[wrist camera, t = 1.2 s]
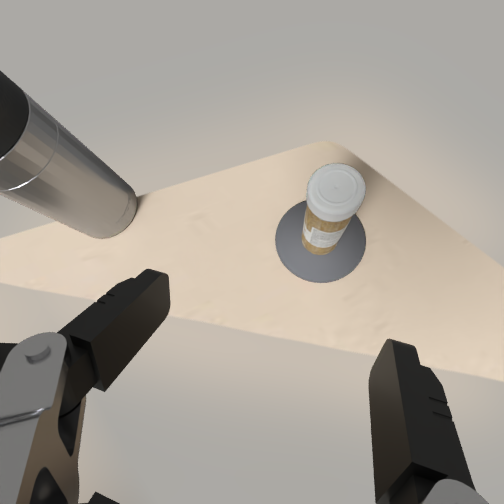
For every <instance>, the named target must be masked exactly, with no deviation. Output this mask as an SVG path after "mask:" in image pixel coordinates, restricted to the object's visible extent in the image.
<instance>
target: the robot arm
mask: <svg viewBox="0 0 504 504" xmlns="http://www.w3.org/2000/svg"><path fill="white" fill-rule="evenodd" d="M0 195H2V196H4V197H6V198H8V199H11V200H12V201H15V202H17V203H19V204H21V205H23V206H26V207H28V208H30V209H32V210H34V211H36V212H38V213H41V214H43V215H45V216H47V217H49V218H52V219H54V220H56V221H58V222H60V223H62V224H64V225H67V226H69V227H71V228H73V229H75V230H77V231H79V232H81V233H84V234H86V235H88V236H90V237H93V238H98V239H104V238H110V237H112V236H115V235H117V234H118V233H120V232H122V231H123V230H124V229H125V228H126V227H127V226H128V225H129V224H130V222H131V221H132V219H133V217H134V215H135V212H136V208H137V199H136V195H135V192H134V191H133V189H132V188H131V187H130V186H129V185H128V184H127V183H126V182H125V181H124V180H123V179H122V178H120V177H119V176H118V175H117V174H116V173H115V172H114V171H113V170H112V169H111V168H110V167H108V166H107V165H106V164H105V163H104V162H103V161H102V160H101V159H99V158H98V157H97V156H96V155H95V154H94V153H93V152H92V151H90V150H89V149H88V148H87V147H86V146H85V145H83V143H81V142H80V141H79V140H78V139H77V138H76V137H75V136H74V135H72V134H71V133H70V132H69V131H68V130H67V129H66V128H64V126H62V125H61V124H60V123H59V122H58V121H57V120H56V119H55V118H53V117H52V116H51V115H50V114H49V113H48V112H47V111H45V110H44V109H43V108H42V107H41V106H40V105H39V104H38V103H36V102H35V101H34V100H33V99H32V98H31V97H30V96H29V95H27V94H26V93H25V92H24V91H23V90H22V89H21V88H19V87H18V86H17V85H16V84H15V83H14V82H13V81H11V80H10V79H9V78H8V77H7V76H6V75H4V74H3V73H2V72H1V71H0ZM169 309H170V290H169V277H168V275H167V274H166V273H162V272H159V271H155V270H152V269H146V270H144V271H143V272H142V273H141V274H140V275H138V276H137V277H136V278H135V279H134V278H129V279H127V280H125V281H123V282H120V283H118V284H117V285H115V286H114V287H113V288H112V289H110V290H109V291H108V292H107V293H106V295H103V296H102V297H101V298H99V299H98V300H97V302H94V303H93V304H92V305H91V306H89V307H88V308H87V309H86V310H84V311H83V312H82V313H81V314H80V315H78V316H77V317H76V318H75V319H73V320H72V321H71V322H70V323H68V324H67V325H66V326H65V327H63V328H62V329H61V330H60V331H59V332H57V333H54V332H48V333H41V334H37V335H34V336H32V337H29V338H27V339H25V340H23V341H22V342H20V343H19V344H17V343H16V344H15V343H0V504H78V499H79V473H78V456H79V449H80V442H81V434H82V427H83V420H84V412H85V405H86V394H87V393H88V392H89V391H90V389H91V388H92V387H94V388H97V389H99V390H101V391H104V392H105V391H106V390H107V389H108V387H109V386H110V385H111V384H112V383H113V381H114V380H115V379H116V378H117V377H118V375H119V374H120V373H121V372H122V371H123V369H124V368H125V367H126V366H127V365H128V363H129V362H130V361H131V360H132V358H133V357H134V356H135V355H136V354H137V352H138V351H139V350H140V349H141V347H142V346H143V345H144V344H145V343H146V342H147V340H148V339H149V338H150V337H151V336H152V334H153V333H154V332H155V331H156V329H157V328H158V327H159V326H160V325H161V323H162V322H163V321H164V320H165V318H166V317H167V315H168V313H169ZM369 401H370V418H371V435H372V451H373V467H374V484H375V500H376V504H489V503H488V502H487V501H486V500H485V499H484V498H483V497H482V496H481V495H479V494H478V493H477V492H476V490H475V487H474V485H473V482H472V479H471V475H470V472H469V469H468V466H467V463H466V460H465V457H464V453H463V450H462V447H461V444H460V441H459V437H458V435H457V431H456V428H455V425H454V422H453V421H452V415H451V412H450V409H449V406H447V403H448V402H447V399H446V396H445V393H444V389H443V386H442V384H441V383H440V382H439V380H438V379H437V377H436V376H435V374H434V373H433V372H432V370H431V369H430V368H428V367H425V366H422V365H420V362H419V358H418V354H417V350H416V348H415V346H413V345H410V344H406V343H403V342H399V341H396V340H392V339H387V340H386V342H385V344H384V345H383V347H382V349H381V351H380V353H379V355H378V357H377V359H376V361H375V363H374V365H373V367H372V369H371V372H370V377H369ZM80 504H119V503H117V502H115V501H113V500H111V499H109V498H107V497H105V496H103V495H101V494H99V493H97V492H95V493H94V495H93V496H92V498H91V499H90V501H89V502H88V503H80Z"/></svg>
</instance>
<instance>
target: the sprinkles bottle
mask: <svg viewBox="0 0 504 504" xmlns="http://www.w3.org/2000/svg"><path fill="white" fill-rule="evenodd" d="M365 192H366V186H365V182H364V179H363V177H362V176H361V174H360V173H359V172H358V171H357V170H356V169H354V168H353V167H351V166H349V165H346V164H341V163H332V164H327V165H325V166H322V167H321V168H319V169H318V170H316V171H315V172H314V173H313V175H312V176H311V178H310V180H309V182H308V186H307V193H306V200H307V208H306V212H305V218H304V225H303V231H302V243H303V245H304V247H305V248H306V249H307V250H308V251H309V252H311V253H313V254H316V255H325V254H328V253H330V252H331V251H333V250H334V249H335V247H336V246H337V243H338V241H339V239H340V238H341V236H342V234H343V232H344V231H345V229H346V227H347V225H348V224H349V222H350V220H351V217H352V215H354V214H355V213H356V211H357V210H358V209H359V207H360V205H361V203H362V201H363V199H364V197H365Z"/></svg>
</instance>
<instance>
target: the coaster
mask: <svg viewBox="0 0 504 504" xmlns="http://www.w3.org/2000/svg"><path fill="white" fill-rule="evenodd" d="M306 208H307V200H306V201H303V202H301V203H299V204H297V205H295V206H294V207H292V208H291V209H290V210H288V211H287V213H286V214H285V215H284V216H283V217H282V219H281V221H280V223H279V225H278V227H277V231H276V238H275V241H276V249H277V252H278V255H279V257H280V259H281V261H282V263H283V264H284V265H285V266H286V268H287V269H288V270H289V271H291V272H292V273H293V274H294V275H296V276H297V277H300V278H302V279H304V280H307V281H311V282H317V283H327V282H332V281H336V280H339V279H341V278H343V277H345V276H346V275H348V274H349V273H351V272H352V271H353V270H354V269H355V268H356V267H357V265H358V264H359V262H360V261H361V259H362V257H363V254H364V251H365V244H366V238H365V232H364V229H363V226H362V224H361V222H360V220H359V219H358V217H357V216H356V215H355V214H354V215H352V217H351V220H350V222H349V224H348V225H347V227H346V229H345V231H344V232H343V234H342V236H341V238H340V239H339V241H338V243H337V246H336V247H335V249H334V250H333V251H331V252H330V253H328V254H325V255H316V254H313V253H311V252H309V251H308V250H307V249H306V248H305V247H304V245H303V243H302V231H303V225H304V218H305V212H306Z"/></svg>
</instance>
